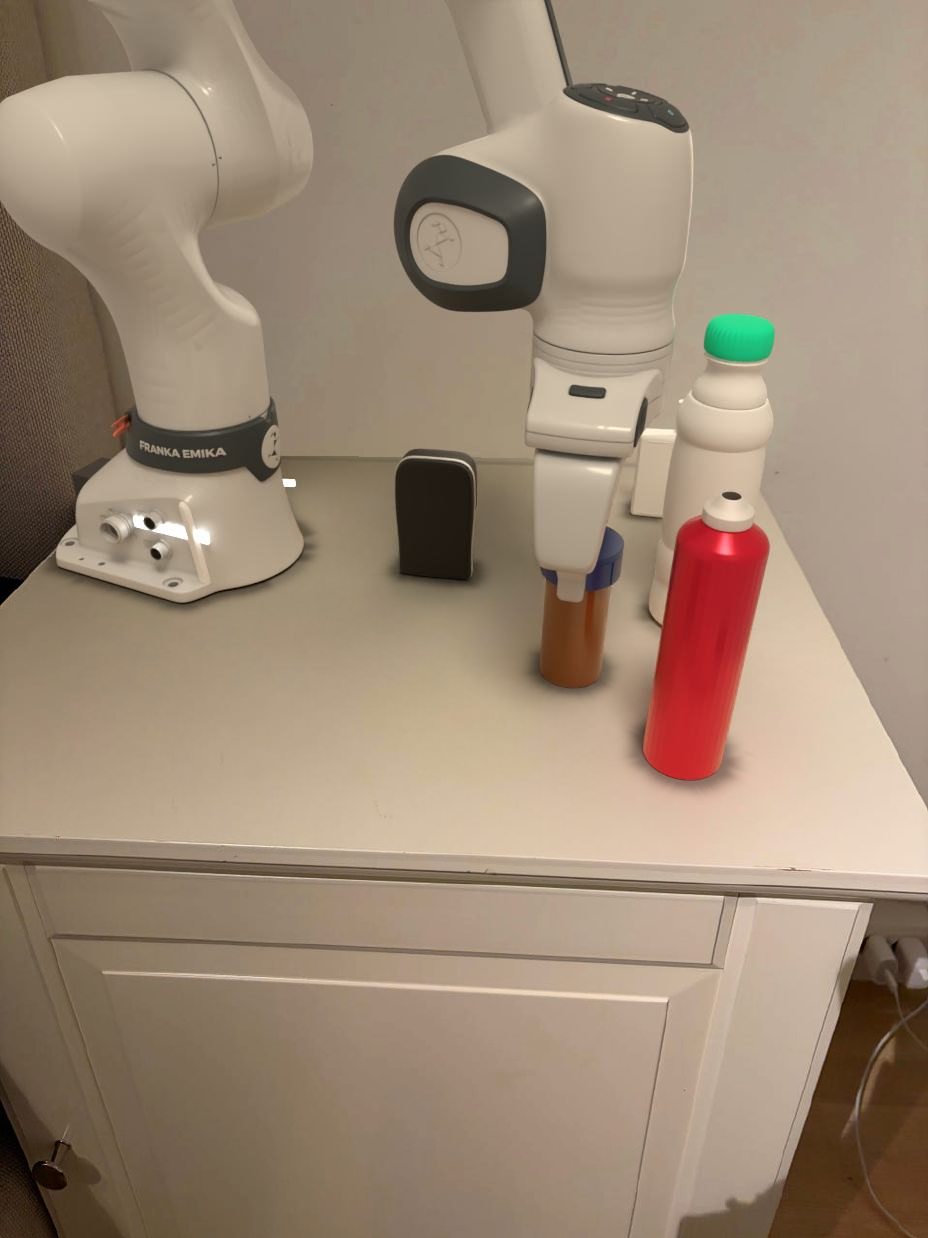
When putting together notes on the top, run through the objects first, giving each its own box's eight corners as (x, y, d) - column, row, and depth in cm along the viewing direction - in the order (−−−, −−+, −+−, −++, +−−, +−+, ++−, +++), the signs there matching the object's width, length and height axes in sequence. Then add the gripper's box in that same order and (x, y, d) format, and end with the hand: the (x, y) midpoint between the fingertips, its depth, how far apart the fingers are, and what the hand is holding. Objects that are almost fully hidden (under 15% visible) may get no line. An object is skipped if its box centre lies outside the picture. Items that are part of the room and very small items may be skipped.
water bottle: (733, 644, 76) (799, 339, 62) (645, 633, 77) (691, 331, 63) (730, 598, 81) (790, 309, 67) (649, 588, 83) (691, 302, 68)
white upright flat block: (629, 515, 94) (643, 401, 87) (630, 506, 95) (644, 394, 89) (710, 523, 93) (731, 408, 86) (710, 514, 94) (730, 400, 87)
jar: (534, 682, 71) (542, 557, 65) (545, 647, 75) (554, 525, 69) (596, 692, 70) (611, 566, 64) (604, 656, 74) (619, 533, 68)
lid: (637, 572, 67) (641, 542, 66) (583, 601, 64) (586, 570, 63) (577, 541, 71) (580, 512, 70) (523, 568, 68) (524, 538, 66)
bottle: (737, 769, 64) (800, 509, 52) (668, 788, 62) (717, 524, 51) (694, 720, 68) (744, 469, 57) (628, 737, 66) (666, 482, 55)
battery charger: (478, 561, 86) (481, 446, 80) (472, 582, 83) (474, 465, 77) (405, 554, 87) (401, 440, 81) (396, 575, 84) (391, 458, 78)
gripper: (575, 325, 69) (562, 493, 76) (518, 431, 52) (509, 632, 60) (662, 332, 67) (639, 503, 75) (631, 444, 51) (606, 647, 59)
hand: (581, 561), depth 68 cm, fingers open, 8 cm apart
